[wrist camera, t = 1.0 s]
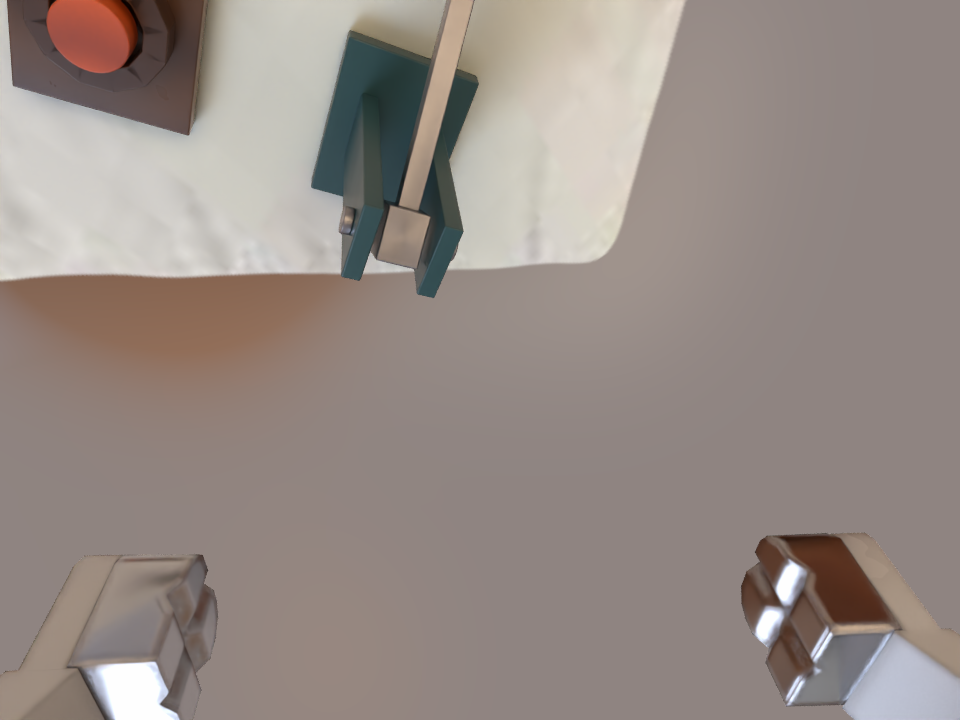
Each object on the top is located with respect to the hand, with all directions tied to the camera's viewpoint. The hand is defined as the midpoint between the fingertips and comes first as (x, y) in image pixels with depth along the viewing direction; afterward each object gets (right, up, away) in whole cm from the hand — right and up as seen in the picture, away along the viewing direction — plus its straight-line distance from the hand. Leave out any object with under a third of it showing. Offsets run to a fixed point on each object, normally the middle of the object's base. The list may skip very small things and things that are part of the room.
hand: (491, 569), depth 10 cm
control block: (-20, +22, +25) cm, 39 cm away
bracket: (-6, +18, +32) cm, 37 cm away
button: (-19, +20, +23) cm, 36 cm away
